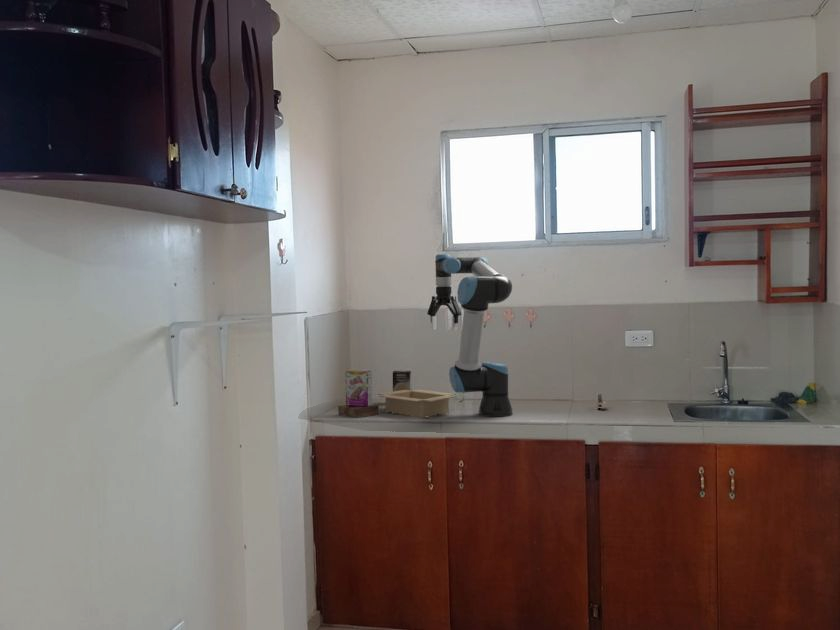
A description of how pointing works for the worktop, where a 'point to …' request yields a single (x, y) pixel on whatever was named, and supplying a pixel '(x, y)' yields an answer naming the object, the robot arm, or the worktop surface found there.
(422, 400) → the carton
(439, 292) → the robot arm
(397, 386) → the coffee box
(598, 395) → the architectural model
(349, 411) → the plinth
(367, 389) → the candy bar box
